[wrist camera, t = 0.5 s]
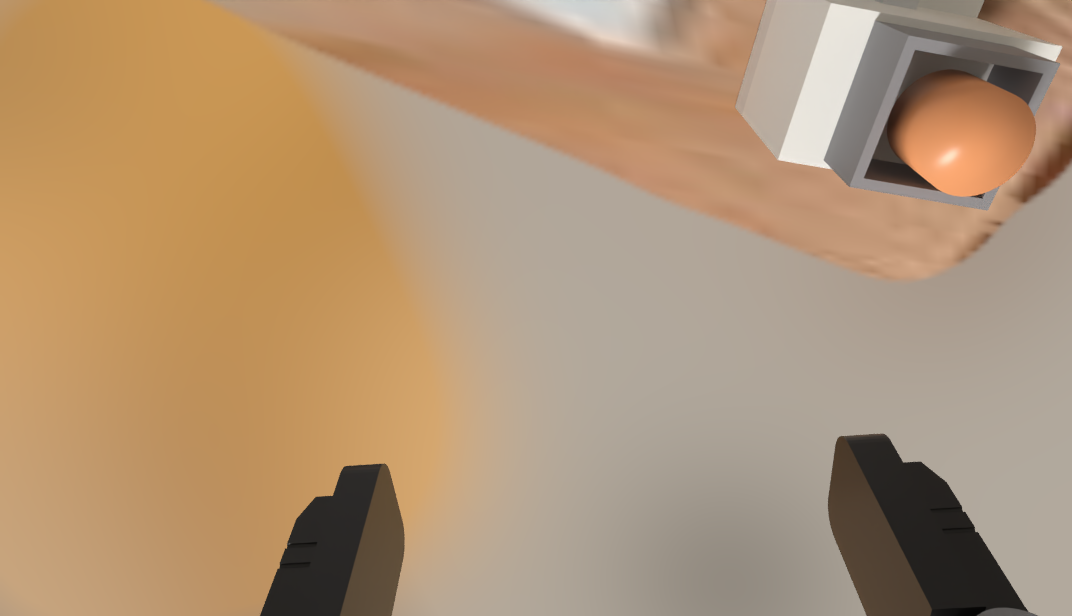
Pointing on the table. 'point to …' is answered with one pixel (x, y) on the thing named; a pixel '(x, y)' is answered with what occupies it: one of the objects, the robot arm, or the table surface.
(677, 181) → the table surface
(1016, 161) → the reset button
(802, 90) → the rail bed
